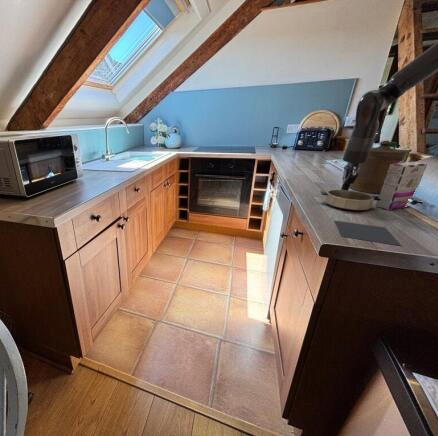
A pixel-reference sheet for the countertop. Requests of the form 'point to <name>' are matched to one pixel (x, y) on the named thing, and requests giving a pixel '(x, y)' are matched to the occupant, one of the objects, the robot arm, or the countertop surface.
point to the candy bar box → (400, 184)
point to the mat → (366, 232)
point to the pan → (349, 199)
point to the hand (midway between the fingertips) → (343, 192)
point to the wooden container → (376, 168)
